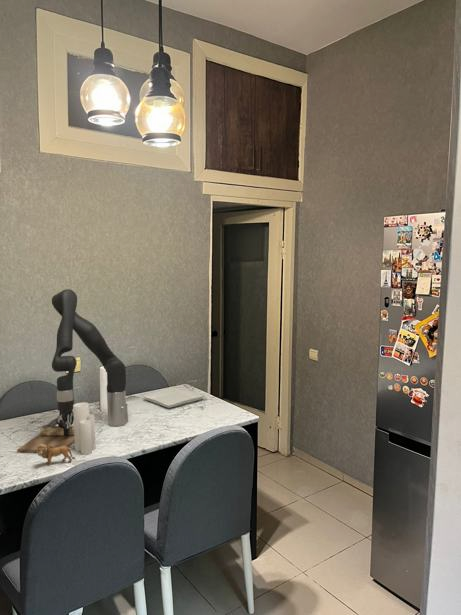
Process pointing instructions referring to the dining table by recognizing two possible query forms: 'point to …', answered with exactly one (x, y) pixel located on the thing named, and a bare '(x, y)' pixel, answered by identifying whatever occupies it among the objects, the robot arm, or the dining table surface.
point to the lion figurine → (53, 452)
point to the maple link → (54, 430)
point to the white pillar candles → (84, 428)
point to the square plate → (174, 397)
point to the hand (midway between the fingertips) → (66, 435)
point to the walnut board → (47, 441)
